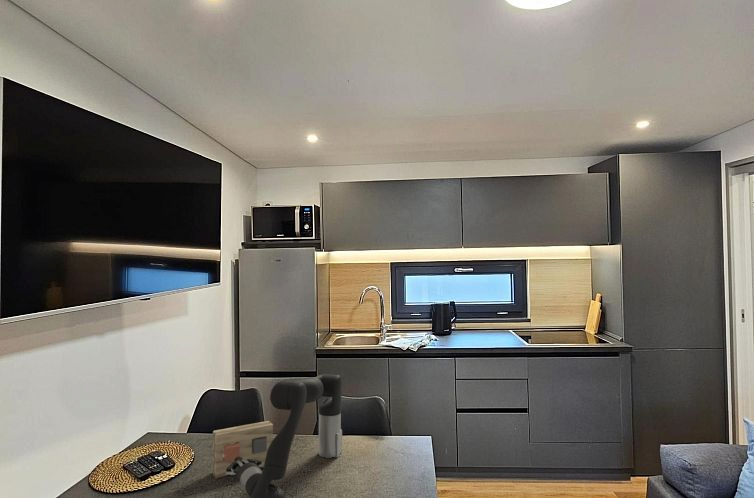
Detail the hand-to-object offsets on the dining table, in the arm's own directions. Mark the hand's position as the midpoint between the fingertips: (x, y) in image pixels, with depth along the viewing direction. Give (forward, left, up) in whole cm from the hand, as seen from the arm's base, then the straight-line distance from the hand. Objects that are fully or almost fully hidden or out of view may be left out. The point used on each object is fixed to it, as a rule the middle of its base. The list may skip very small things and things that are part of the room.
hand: (237, 459), depth 168 cm
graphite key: (-1, -14, -2) cm, 14 cm away
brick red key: (+5, -5, -2) cm, 8 cm away
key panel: (+4, -12, -9) cm, 15 cm away
